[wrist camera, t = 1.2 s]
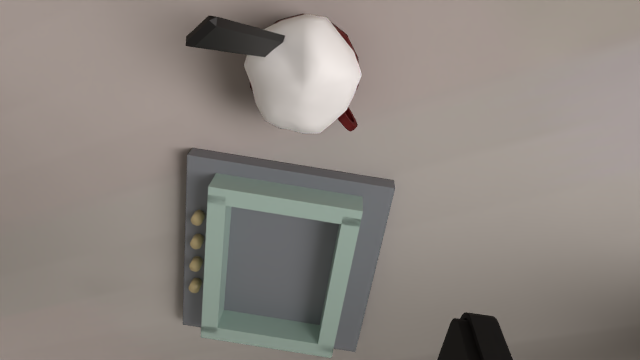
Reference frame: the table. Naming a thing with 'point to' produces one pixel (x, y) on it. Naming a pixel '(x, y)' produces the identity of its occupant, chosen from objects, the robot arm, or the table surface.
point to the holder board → (280, 251)
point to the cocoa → (291, 68)
